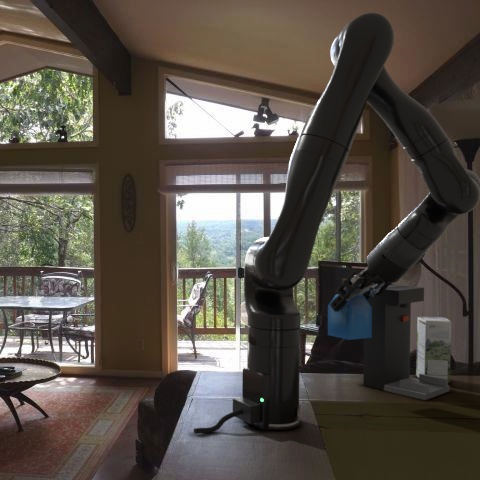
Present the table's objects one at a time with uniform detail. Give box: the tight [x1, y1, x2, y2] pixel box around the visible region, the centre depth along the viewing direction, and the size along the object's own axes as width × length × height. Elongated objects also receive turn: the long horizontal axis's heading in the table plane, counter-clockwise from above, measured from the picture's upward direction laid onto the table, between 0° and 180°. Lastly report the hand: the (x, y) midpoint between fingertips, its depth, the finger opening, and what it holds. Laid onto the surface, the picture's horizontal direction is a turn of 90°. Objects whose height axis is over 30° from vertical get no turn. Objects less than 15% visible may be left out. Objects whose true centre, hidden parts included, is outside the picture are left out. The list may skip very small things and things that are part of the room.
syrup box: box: [415, 316, 453, 384], centre depth 134 cm, size 6×6×14 cm
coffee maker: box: [362, 284, 451, 401], centre depth 126 cm, size 11×14×22 cm
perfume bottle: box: [327, 278, 372, 341], centre depth 121 cm, size 6×6×12 cm
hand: (344, 306), depth 122 cm, fingers closed on perfume bottle, 7 cm apart
